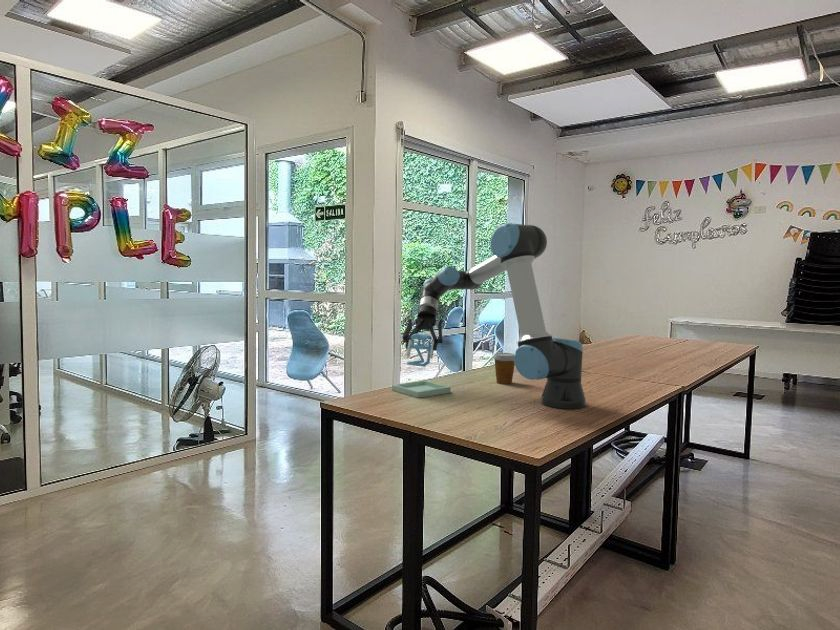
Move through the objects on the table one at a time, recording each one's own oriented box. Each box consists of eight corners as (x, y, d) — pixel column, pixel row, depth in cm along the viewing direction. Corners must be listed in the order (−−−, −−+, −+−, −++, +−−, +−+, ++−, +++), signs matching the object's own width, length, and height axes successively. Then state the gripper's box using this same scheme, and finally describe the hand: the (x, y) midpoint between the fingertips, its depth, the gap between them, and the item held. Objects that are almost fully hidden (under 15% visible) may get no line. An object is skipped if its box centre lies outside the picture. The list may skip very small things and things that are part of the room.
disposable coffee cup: (490, 380, 236) (491, 352, 235) (512, 380, 237) (513, 352, 236) (495, 385, 226) (496, 356, 225) (518, 384, 227) (519, 355, 226)
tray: (424, 385, 224) (424, 380, 223) (450, 392, 211) (450, 386, 211) (391, 390, 214) (391, 384, 213) (417, 397, 201) (417, 392, 201)
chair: (435, 363, 213) (435, 332, 213) (424, 366, 206) (424, 334, 205) (417, 361, 217) (418, 331, 217) (406, 364, 210) (407, 333, 209)
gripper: (454, 317, 223) (447, 363, 209) (403, 315, 228) (393, 360, 213) (453, 304, 218) (446, 351, 203) (401, 303, 222) (390, 348, 207)
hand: (419, 355), depth 208 cm, fingers closed on chair, 8 cm apart
